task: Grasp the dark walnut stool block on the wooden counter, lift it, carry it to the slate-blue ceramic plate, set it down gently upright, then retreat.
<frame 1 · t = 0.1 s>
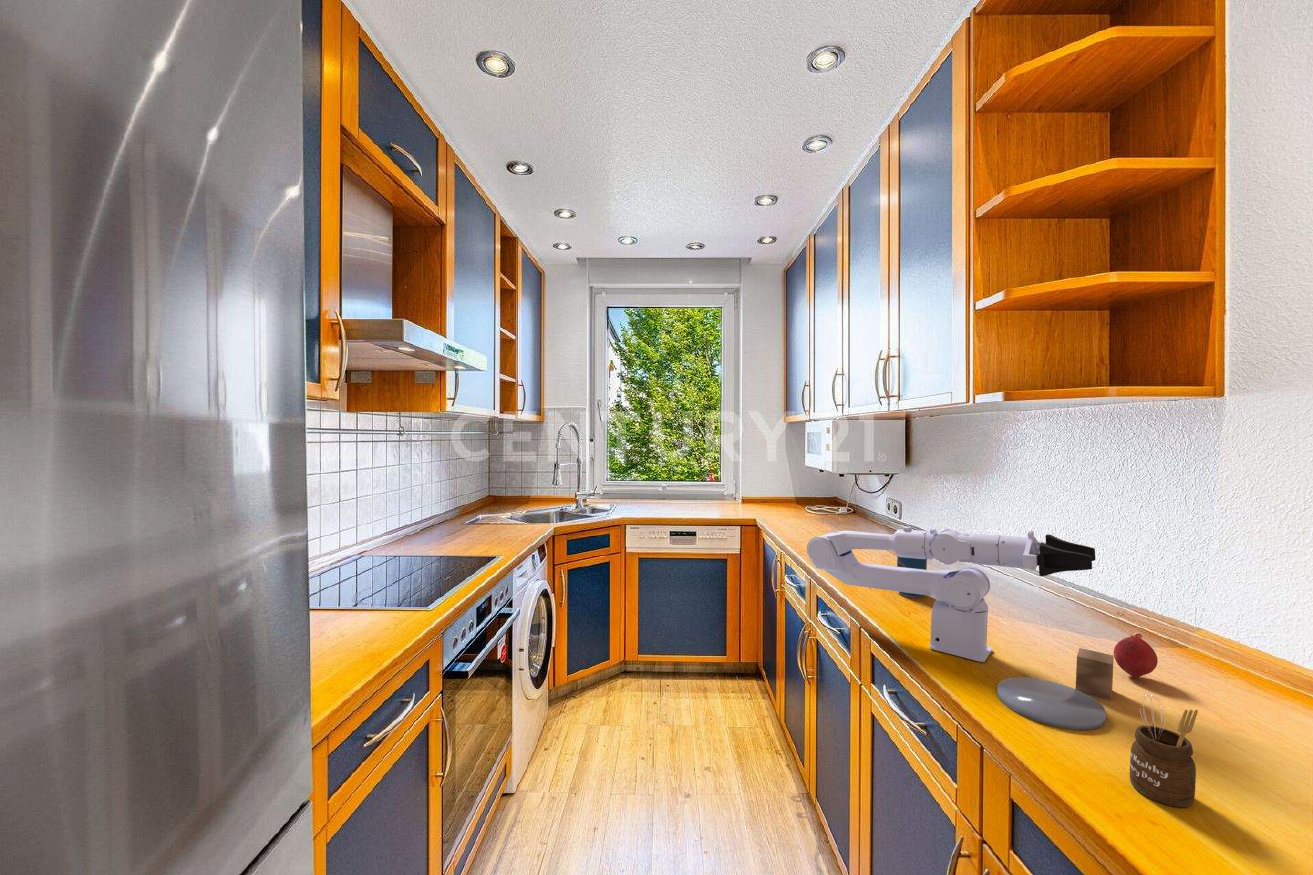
hand: (1093, 558, 96), 22 cm above the counter, tool horizontal, fingers open, 7 cm apart
walnut stool block: (1093, 691, 94), on the counter
utensil holder: (1161, 794, 68), on the counter
soda can: (910, 594, 144), on the counter
onion: (1134, 678, 99), on the counter
plate: (1049, 705, 89), on the counter
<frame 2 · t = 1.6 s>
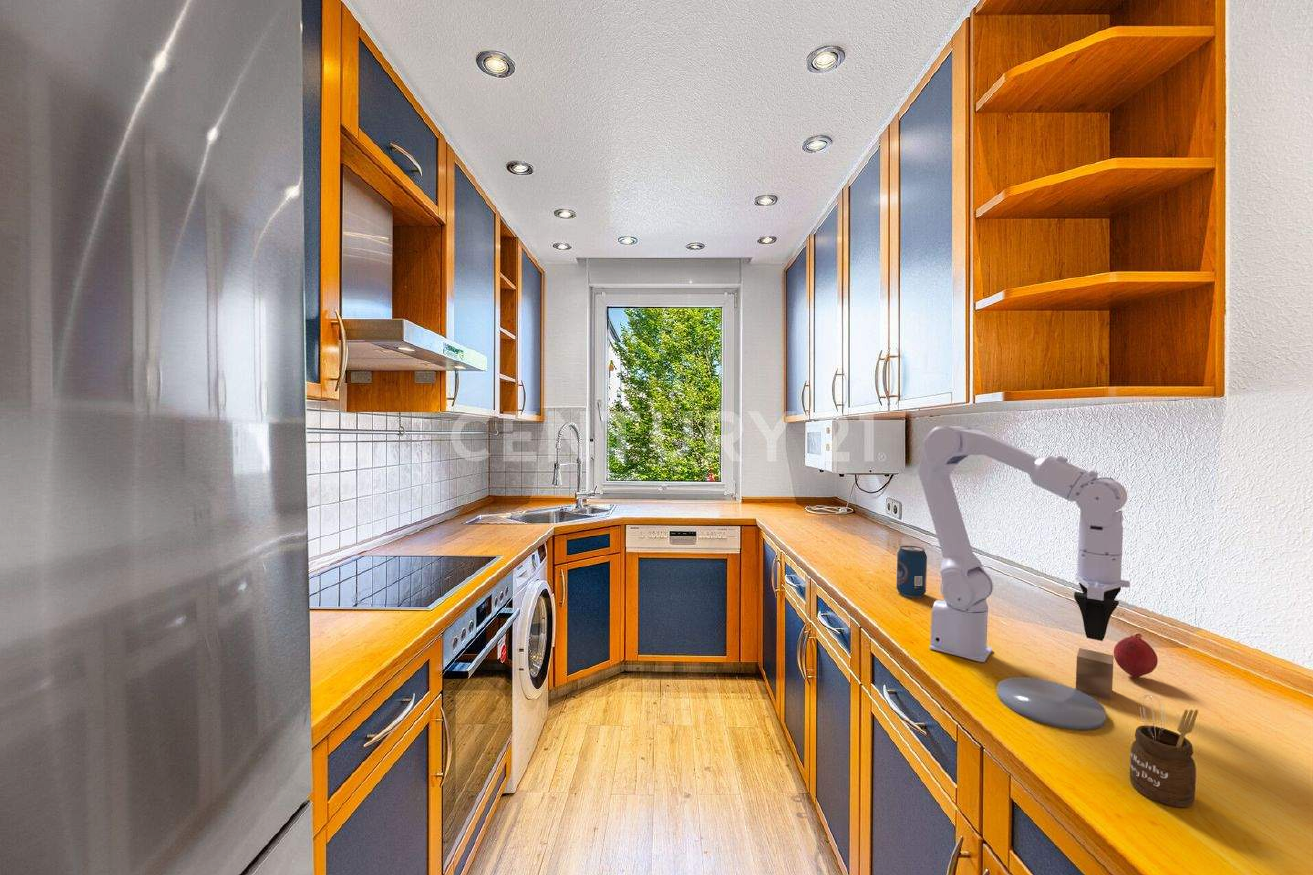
hand: (1096, 632, 93), 10 cm above the counter, tool pointing down, fingers open, 7 cm apart
nothing on the counter moved.
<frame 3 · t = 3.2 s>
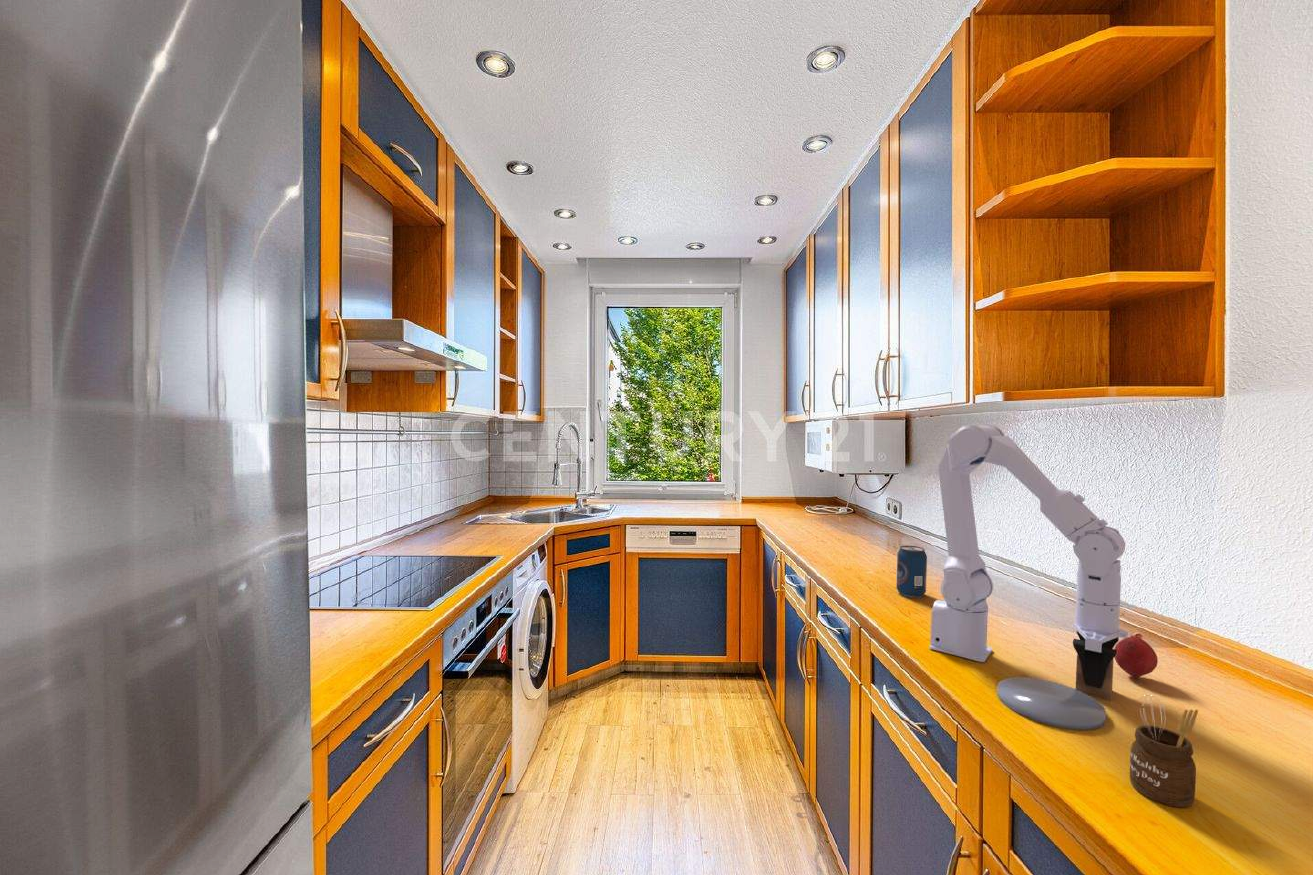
hand: (1094, 680, 93), 2 cm above the counter, tool pointing down, fingers closed on walnut stool block, 5 cm apart
walnut stool block: (1093, 690, 94), on the counter, touching gripper
everything else where it was.
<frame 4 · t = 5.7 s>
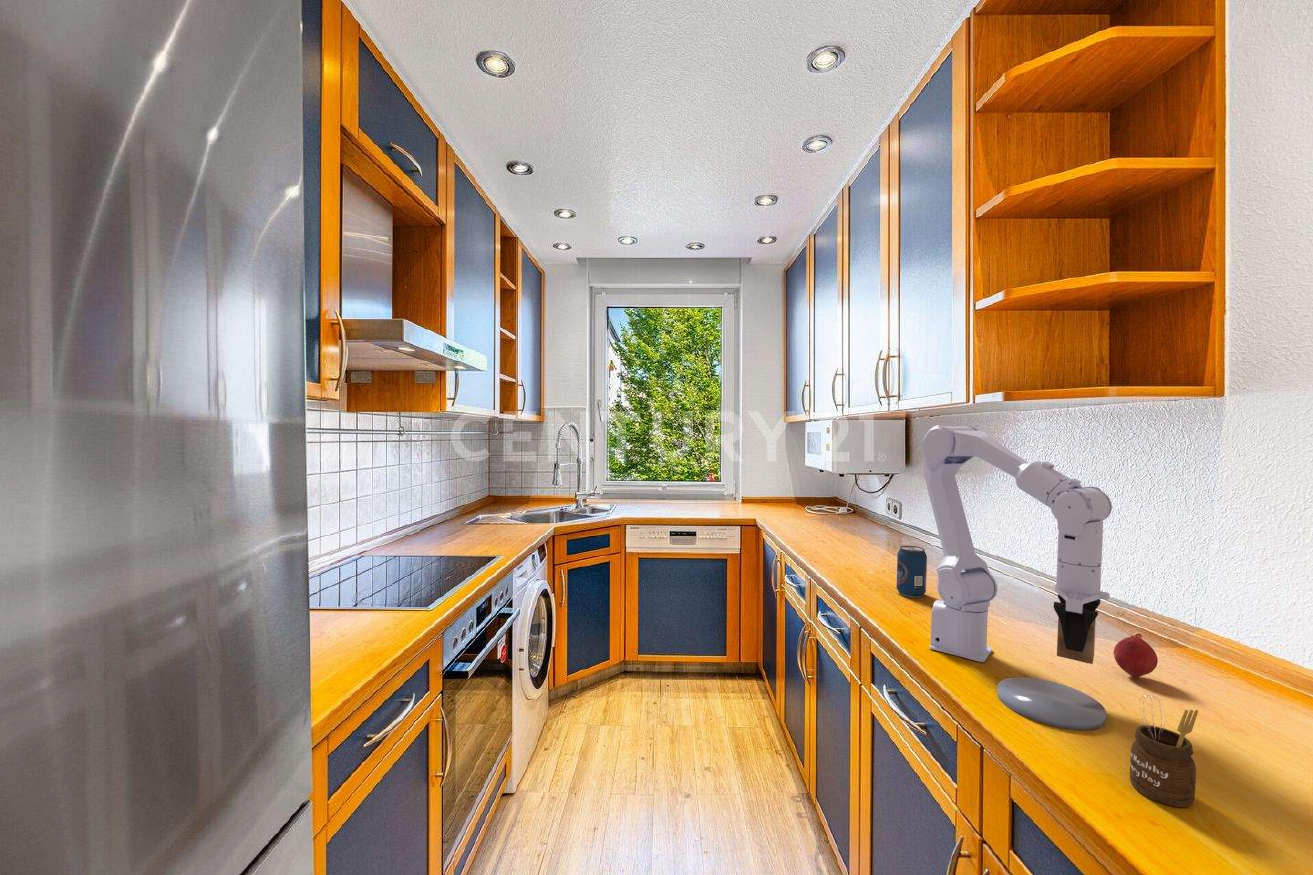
hand: (1075, 644, 91), 9 cm above the counter, tool pointing down, fingers closed on walnut stool block, 5 cm apart
walnut stool block: (1075, 655, 91), point 7 cm above the counter, touching gripper
everything else where it was.
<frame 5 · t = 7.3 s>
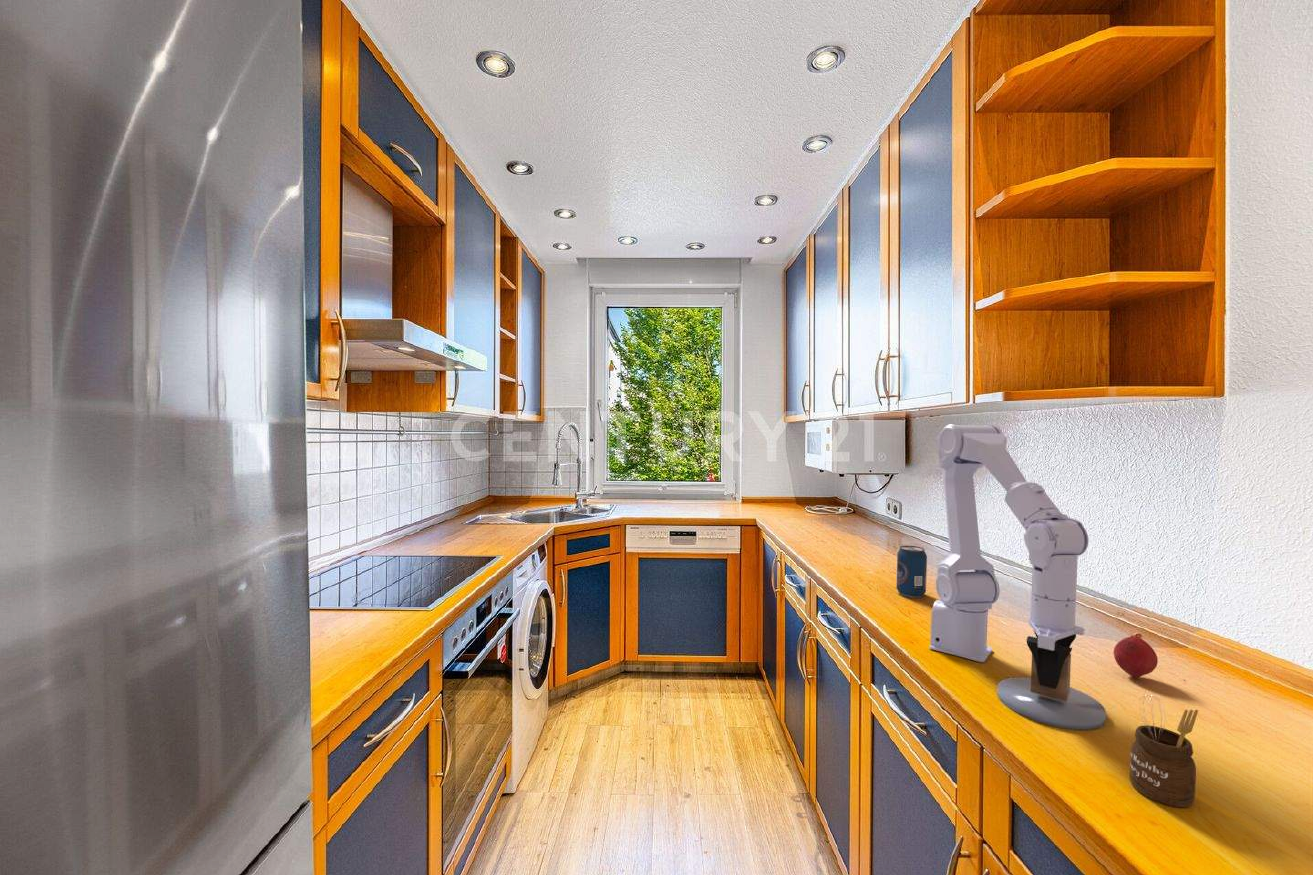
hand: (1050, 680, 88), 4 cm above the counter, tool pointing down, fingers closed on walnut stool block, 5 cm apart
walnut stool block: (1050, 691, 88), point 2 cm above the counter, touching gripper
everything else where it was.
when the fingers open (4 cm above the counter, at t = 8.5 s): walnut stool block stays where it is, resting on plate.
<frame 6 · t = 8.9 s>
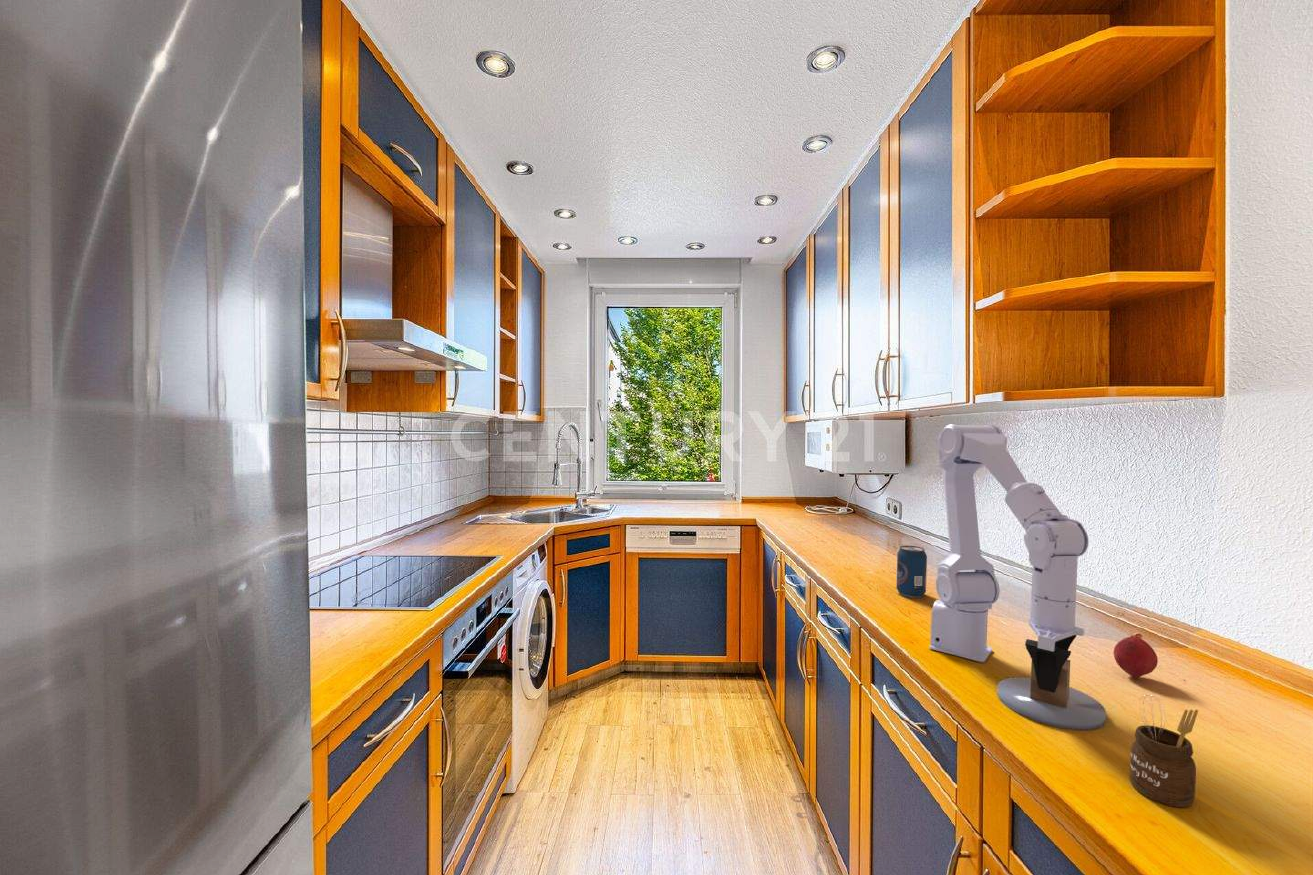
hand: (1050, 681, 88), 4 cm above the counter, tool pointing down, fingers open, 7 cm apart
walnut stool block: (1049, 697, 88), point 1 cm above the counter, touching plate
everything else where it was.
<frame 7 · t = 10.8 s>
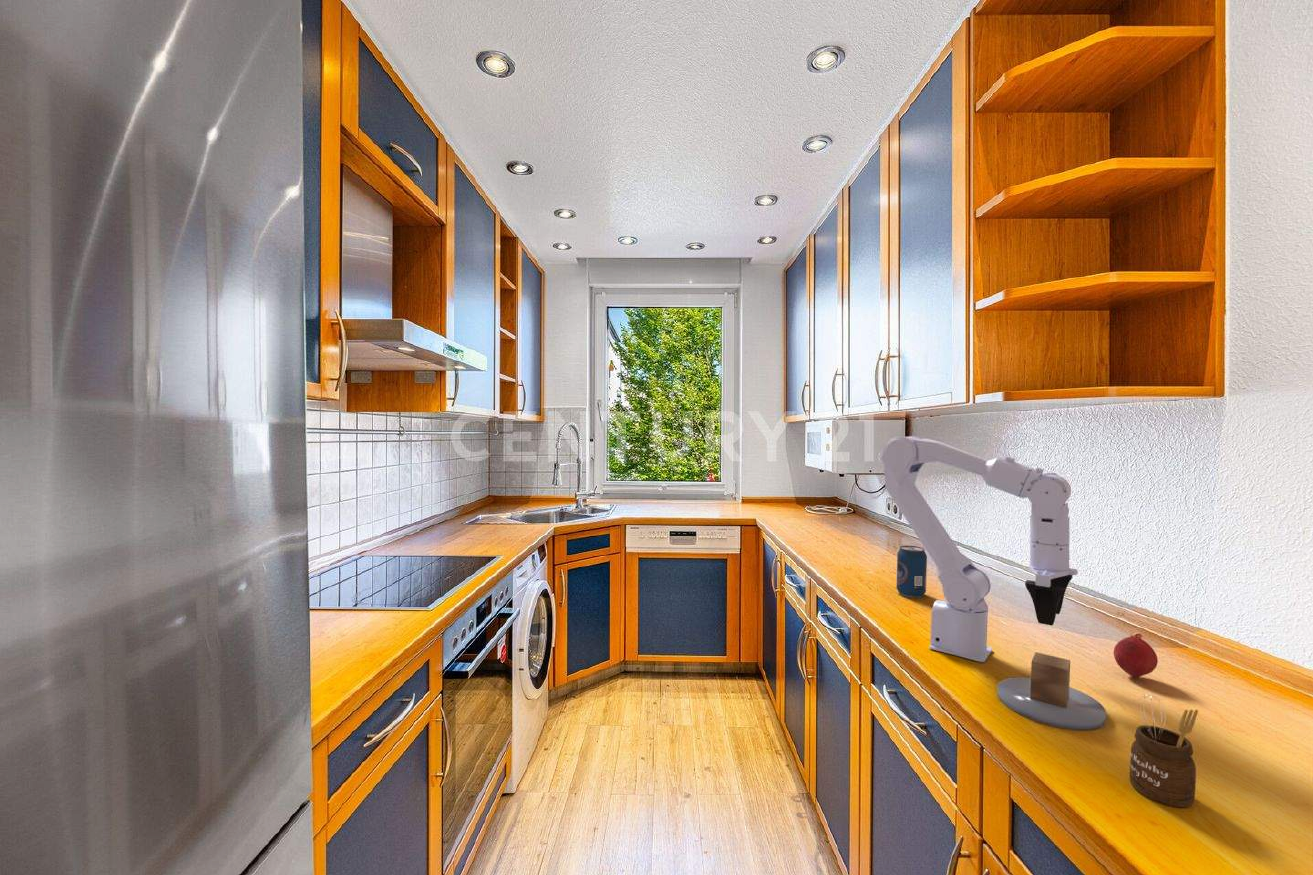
hand: (1049, 618, 100), 10 cm above the counter, tool pointing down, fingers open, 7 cm apart
nothing on the counter moved.
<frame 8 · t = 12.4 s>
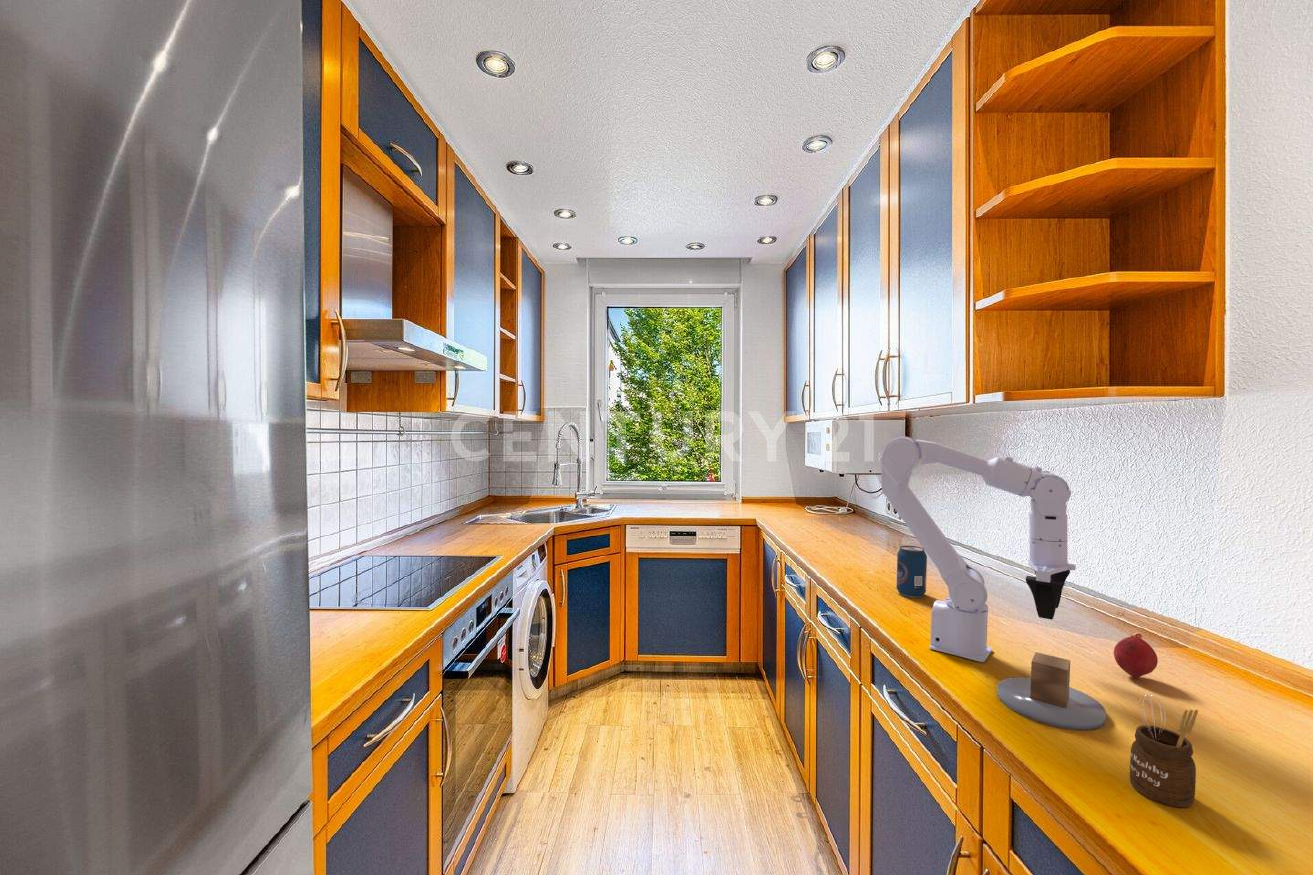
hand: (1048, 612, 103), 10 cm above the counter, tool pointing down, fingers open, 7 cm apart
nothing on the counter moved.
at the end: walnut stool block inside the target area on the plate (0.0 cm from its centre), point 1.2 cm above the plate's base; walnut stool block tilted 0°; the gripper is holding nothing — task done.
